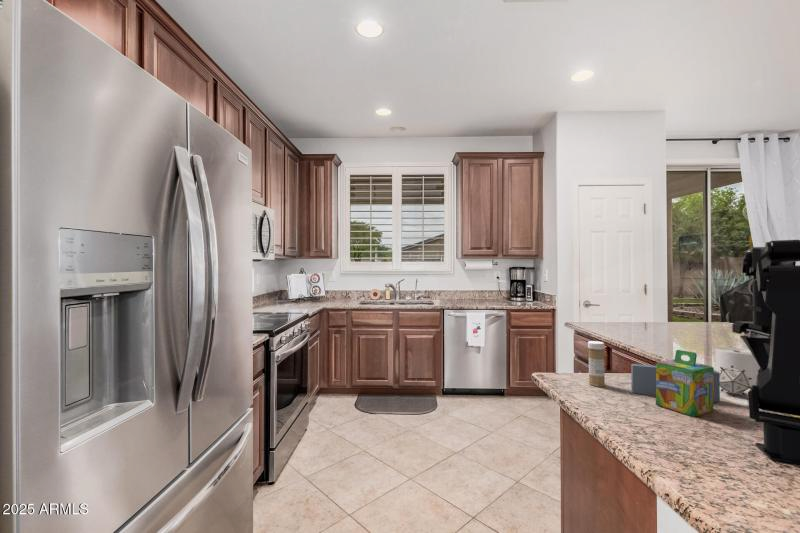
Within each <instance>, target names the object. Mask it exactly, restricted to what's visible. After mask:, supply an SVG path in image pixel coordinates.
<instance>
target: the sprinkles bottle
mask: <svg viewBox="0 0 800 533" xmlns="http://www.w3.org/2000/svg"><path fill="white" fill-rule="evenodd" d="M587 348H588V376H589V377H588V384H589V385H590V386H593V387H601V388H602V387H605V386H606V384H605V375H606V374H605V373H606V371H605V348H606V347H605V342H603V341H599V340H590V341H589V340H588V342H587Z"/></svg>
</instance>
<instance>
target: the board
mask: <svg viewBox="0 0 800 533" xmlns="http://www.w3.org/2000/svg"><path fill="white" fill-rule="evenodd" d="M630 367H631V368H630V370H631V371H630V372H631V373H630V374H631V375H630V376H631V377H630V378H631V380H630V381H631V382H630V383H631V392H632V394H636V393H637V394H638V395H648V396H655V397H656V365H652V364H640V363H639V364H638V363H631V365H630ZM719 402H720V403H721V387H720V376H719V372H717V371H716V369H714V401H713V403H719Z"/></svg>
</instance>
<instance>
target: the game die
mask: <svg viewBox="0 0 800 533" xmlns="http://www.w3.org/2000/svg"><path fill="white" fill-rule="evenodd" d="M720 368H721V369H722V370H721V371H720V372H719V376H720V392H724V391H725V392H727V393H729V394H731V396H732V398H734V397H735V395H736V394H742V395H743V396H744V395H745V396H746V393H745V392H746V391H748V390H749V389H750V390H751V388H752V387H750V384H749V379H750V380H751V379H752V378H748V377H747V376H746V375H745V374H744V372H745V370H742V371H740V370H737V369H734V368H733V365H732V366H731V368H726V369H723V368H722V367H720Z"/></svg>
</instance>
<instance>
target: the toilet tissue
mask: <svg viewBox="0 0 800 533" xmlns="http://www.w3.org/2000/svg"><path fill="white" fill-rule="evenodd" d="M714 352H715V354H714V357H715V358H714V360H715V361H714V362H715V366H714V368H715V371H717V372H720V371H721V370H722V369H721V368H720V367H722V368H723V369H726V368H731V366H732V365H733V368H734V369H737V370H740V371H742V370H745V372H744V374H745V375H746V376H747V377H748V378H752V379H751V380H750V379H749V384H750V387H751V388H752V385H755V386H756V381H757V375H758V370H759V369H760V366H759V365H758V363H757V361H756V360H755V358H754V356H753V355H752V353H751V351H750V350H749V349H747V348H739V347H725V346H724V347H715V351H714ZM768 368H769V363H768Z"/></svg>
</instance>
